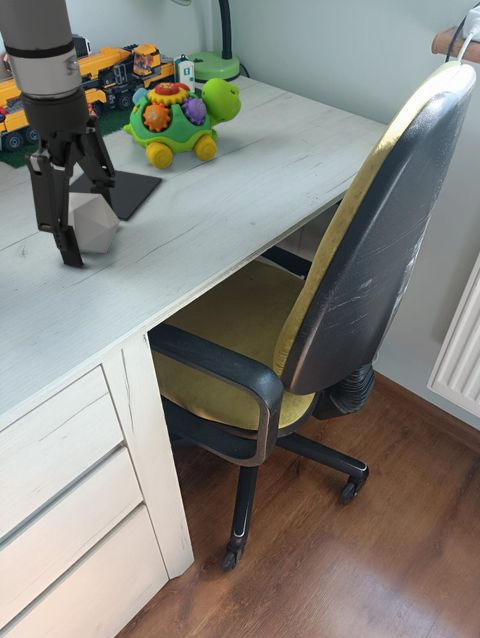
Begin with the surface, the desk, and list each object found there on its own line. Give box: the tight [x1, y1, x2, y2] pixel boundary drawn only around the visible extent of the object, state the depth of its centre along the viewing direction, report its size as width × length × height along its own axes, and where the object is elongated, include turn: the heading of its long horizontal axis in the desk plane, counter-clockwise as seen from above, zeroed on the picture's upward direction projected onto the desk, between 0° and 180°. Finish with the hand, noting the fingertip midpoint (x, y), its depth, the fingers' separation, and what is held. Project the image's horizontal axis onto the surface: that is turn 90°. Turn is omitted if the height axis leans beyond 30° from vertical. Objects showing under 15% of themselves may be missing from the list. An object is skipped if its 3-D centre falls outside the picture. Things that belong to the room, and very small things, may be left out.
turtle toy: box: [123, 77, 242, 170], centre depth 97 cm, size 17×23×12 cm
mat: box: [69, 169, 163, 222], centre depth 88 cm, size 14×14×1 cm
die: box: [59, 193, 121, 254], centre depth 75 cm, size 8×9×10 cm
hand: (91, 245), depth 77 cm, fingers closed on die, 10 cm apart
